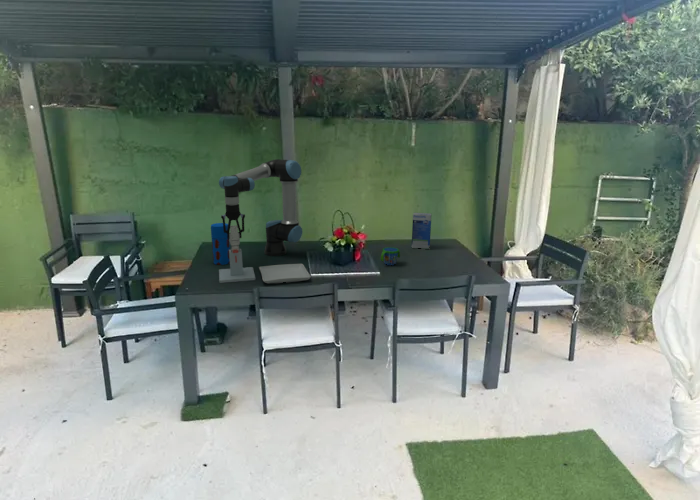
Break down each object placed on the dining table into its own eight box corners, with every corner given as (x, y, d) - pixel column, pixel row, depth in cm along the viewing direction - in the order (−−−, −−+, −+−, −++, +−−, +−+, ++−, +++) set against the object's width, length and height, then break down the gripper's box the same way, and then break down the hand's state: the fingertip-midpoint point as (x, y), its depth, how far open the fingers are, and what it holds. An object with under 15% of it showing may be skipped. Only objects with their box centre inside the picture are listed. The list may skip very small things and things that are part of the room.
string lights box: (429, 247, 328) (432, 213, 320) (429, 250, 320) (431, 215, 313) (411, 246, 330) (413, 212, 323) (410, 248, 323) (412, 214, 316)
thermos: (225, 265, 280) (223, 227, 273) (210, 264, 282) (207, 226, 275) (233, 260, 290) (231, 223, 283) (218, 259, 292) (215, 222, 285)
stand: (252, 269, 273) (251, 243, 269) (255, 280, 255) (254, 252, 250) (219, 271, 268) (217, 246, 263) (219, 282, 249) (217, 255, 245)
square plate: (311, 282, 253) (311, 276, 252) (263, 287, 245) (263, 280, 244) (302, 268, 278) (302, 262, 277) (258, 271, 270) (258, 265, 269)
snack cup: (394, 260, 295) (395, 245, 293) (404, 264, 287) (405, 249, 284) (375, 264, 287) (376, 248, 284) (385, 268, 279) (386, 252, 276)
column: (239, 267, 263) (237, 225, 256) (240, 270, 259) (237, 226, 252) (232, 268, 262) (229, 225, 254) (232, 270, 258) (230, 227, 251)
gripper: (247, 202, 255) (249, 241, 262) (216, 203, 251) (219, 243, 257) (248, 204, 248) (250, 244, 255) (216, 205, 244) (219, 246, 250)
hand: (234, 243), depth 256 cm, fingers closed on column, 4 cm apart
